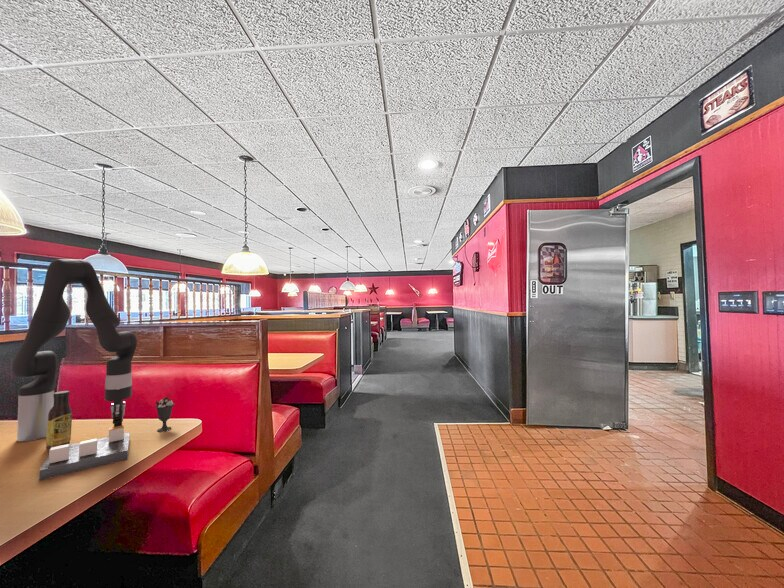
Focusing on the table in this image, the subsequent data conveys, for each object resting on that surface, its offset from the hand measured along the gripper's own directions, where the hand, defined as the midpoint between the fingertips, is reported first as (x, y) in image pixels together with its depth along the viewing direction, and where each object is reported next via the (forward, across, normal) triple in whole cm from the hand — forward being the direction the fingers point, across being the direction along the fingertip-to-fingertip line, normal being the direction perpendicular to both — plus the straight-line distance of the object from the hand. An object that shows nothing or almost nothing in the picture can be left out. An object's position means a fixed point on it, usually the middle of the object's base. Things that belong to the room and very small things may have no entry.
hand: (117, 432), depth 115 cm
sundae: (+5, -6, +14) cm, 16 cm away
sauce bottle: (+5, -12, -17) cm, 21 cm away
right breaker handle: (+1, +11, -13) cm, 18 cm away
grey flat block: (+5, +6, -7) cm, 10 cm away
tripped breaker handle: (+1, +4, 0) cm, 4 cm away
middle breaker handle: (+1, +11, -7) cm, 13 cm away
